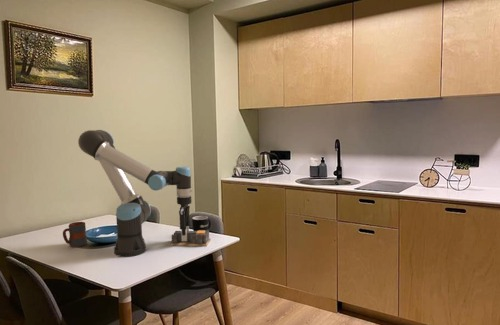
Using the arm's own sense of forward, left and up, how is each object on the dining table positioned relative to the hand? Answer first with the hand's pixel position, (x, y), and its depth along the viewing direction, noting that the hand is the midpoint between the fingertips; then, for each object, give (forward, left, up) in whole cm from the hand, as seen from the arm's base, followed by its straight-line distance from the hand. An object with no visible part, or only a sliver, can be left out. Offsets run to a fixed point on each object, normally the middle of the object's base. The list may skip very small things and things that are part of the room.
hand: (185, 239), depth 200 cm
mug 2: (+6, +16, -2) cm, 17 cm away
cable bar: (+2, 0, 0) cm, 2 cm away
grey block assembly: (+3, 0, -2) cm, 3 cm away
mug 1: (-57, -7, -2) cm, 58 cm away
